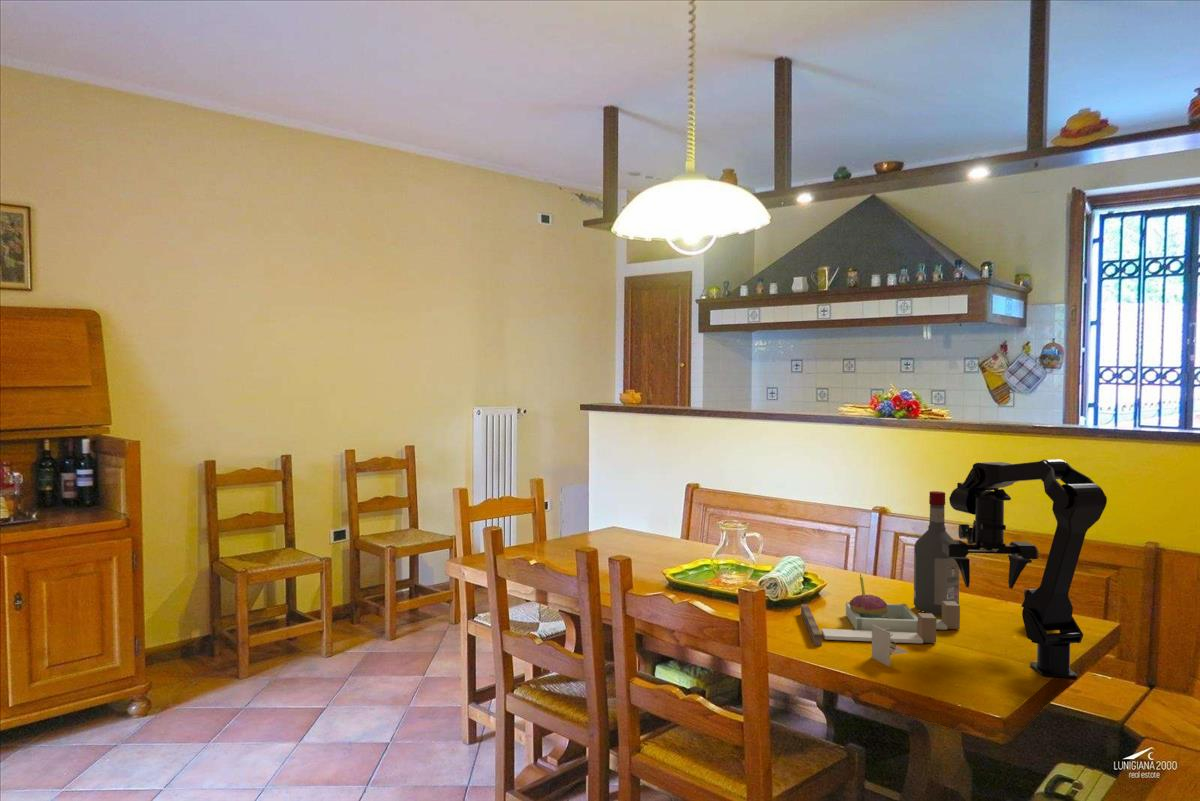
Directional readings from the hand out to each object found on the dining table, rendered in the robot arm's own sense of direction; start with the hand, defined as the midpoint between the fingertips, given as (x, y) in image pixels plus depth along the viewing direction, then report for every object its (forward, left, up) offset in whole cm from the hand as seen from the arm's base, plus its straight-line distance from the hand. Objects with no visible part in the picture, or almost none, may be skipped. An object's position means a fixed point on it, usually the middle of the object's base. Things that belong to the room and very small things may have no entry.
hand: (988, 587), depth 174 cm
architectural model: (-16, +26, -13) cm, 33 cm away
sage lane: (+8, +16, -12) cm, 21 cm away
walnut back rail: (+3, +38, -12) cm, 40 cm away
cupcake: (+8, +24, -12) cm, 28 cm away
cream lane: (-3, +24, -12) cm, 27 cm away
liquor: (+22, +5, -12) cm, 26 cm away
